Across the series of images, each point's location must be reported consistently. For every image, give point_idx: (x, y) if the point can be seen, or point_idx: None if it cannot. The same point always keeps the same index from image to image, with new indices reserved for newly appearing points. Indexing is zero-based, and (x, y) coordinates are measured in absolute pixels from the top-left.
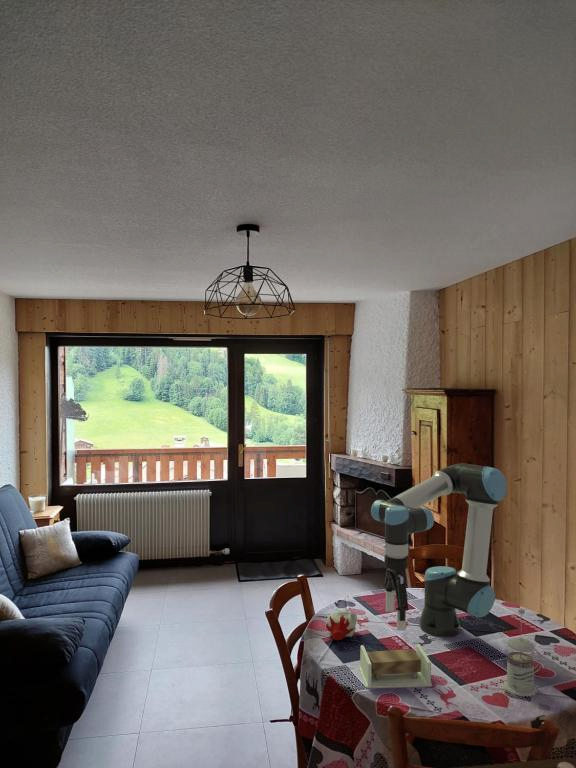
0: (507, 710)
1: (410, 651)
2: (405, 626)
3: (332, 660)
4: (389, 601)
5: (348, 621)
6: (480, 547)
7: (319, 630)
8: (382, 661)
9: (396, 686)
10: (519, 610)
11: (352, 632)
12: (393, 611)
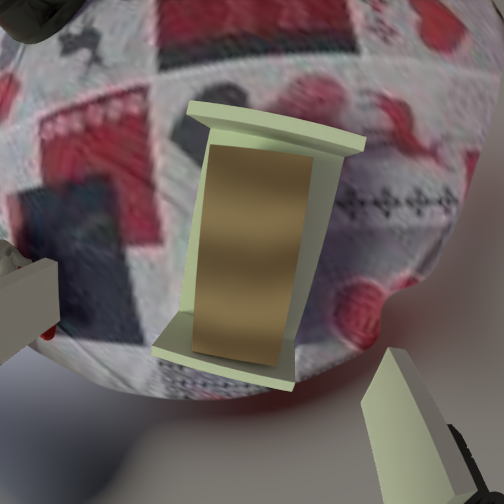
0: (478, 38)
1: (230, 167)
2: (415, 370)
3: (131, 363)
4: (4, 333)
5: None
6: None
7: None
8: (277, 330)
9: (316, 263)
10: None
11: (25, 265)
12: (57, 268)
